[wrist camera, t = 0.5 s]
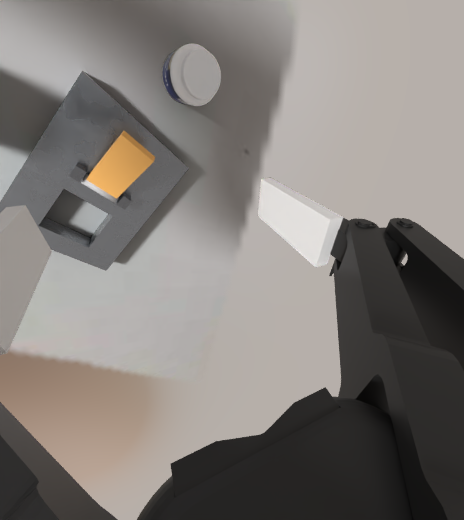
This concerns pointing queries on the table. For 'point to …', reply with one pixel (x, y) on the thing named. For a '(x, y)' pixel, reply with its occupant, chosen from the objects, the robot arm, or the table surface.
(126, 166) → the lever
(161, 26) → the table surface
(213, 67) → the pill bottle
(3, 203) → the hitch plate
